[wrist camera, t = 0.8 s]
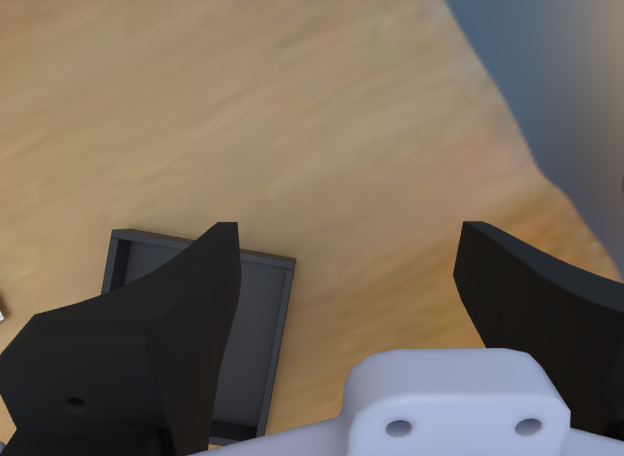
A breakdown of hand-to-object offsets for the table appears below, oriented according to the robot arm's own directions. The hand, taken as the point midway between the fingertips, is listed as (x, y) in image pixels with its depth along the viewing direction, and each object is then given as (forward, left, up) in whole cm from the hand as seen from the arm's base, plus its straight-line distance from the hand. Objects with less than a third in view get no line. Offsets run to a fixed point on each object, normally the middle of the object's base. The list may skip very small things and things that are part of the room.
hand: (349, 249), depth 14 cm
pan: (-11, +6, -21) cm, 25 cm away
